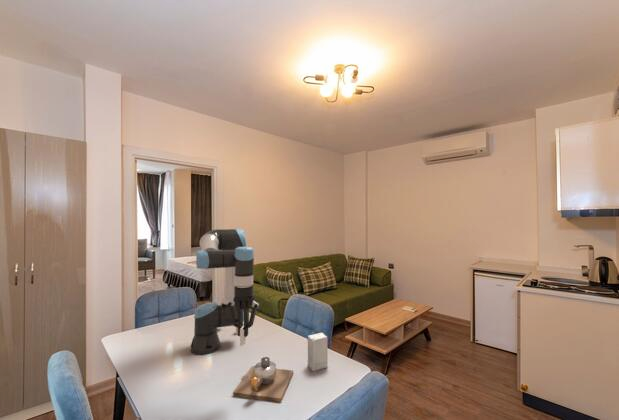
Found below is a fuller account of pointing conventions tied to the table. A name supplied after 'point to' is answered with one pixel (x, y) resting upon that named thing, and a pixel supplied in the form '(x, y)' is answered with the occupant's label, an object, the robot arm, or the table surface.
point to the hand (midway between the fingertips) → (242, 344)
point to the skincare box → (317, 351)
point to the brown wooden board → (265, 386)
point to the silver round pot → (263, 373)
